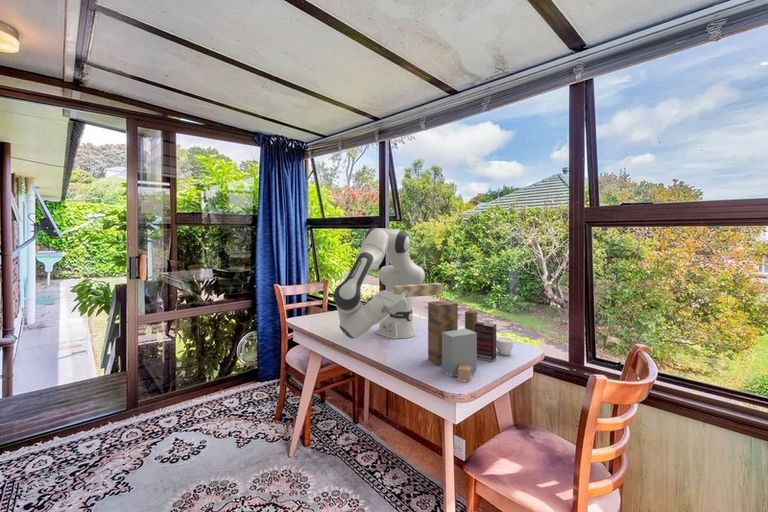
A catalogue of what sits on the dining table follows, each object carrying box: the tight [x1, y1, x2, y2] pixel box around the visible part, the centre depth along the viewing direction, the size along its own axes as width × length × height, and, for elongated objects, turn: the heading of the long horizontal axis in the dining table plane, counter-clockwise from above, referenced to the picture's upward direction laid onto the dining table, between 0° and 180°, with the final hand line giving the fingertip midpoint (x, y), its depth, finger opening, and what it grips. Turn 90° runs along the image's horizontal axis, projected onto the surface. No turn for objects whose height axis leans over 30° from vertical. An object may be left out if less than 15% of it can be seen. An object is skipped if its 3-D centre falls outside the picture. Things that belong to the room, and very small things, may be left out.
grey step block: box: [441, 328, 478, 377], centre depth 135 cm, size 12×7×16 cm, turn 114°
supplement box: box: [475, 321, 497, 362], centre depth 148 cm, size 9×5×16 cm, turn 52°
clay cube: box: [457, 365, 472, 382], centre depth 128 cm, size 4×4×4 cm
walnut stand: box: [427, 299, 459, 367], centre depth 145 cm, size 10×8×26 cm
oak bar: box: [393, 282, 444, 298], centre depth 139 cm, size 22×4×4 cm, turn 114°
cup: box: [496, 336, 514, 356], centre depth 155 cm, size 8×10×7 cm
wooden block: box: [464, 310, 478, 332], centre depth 161 cm, size 9×4×18 cm, turn 137°
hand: (404, 290), depth 136 cm, fingers closed on oak bar, 3 cm apart
